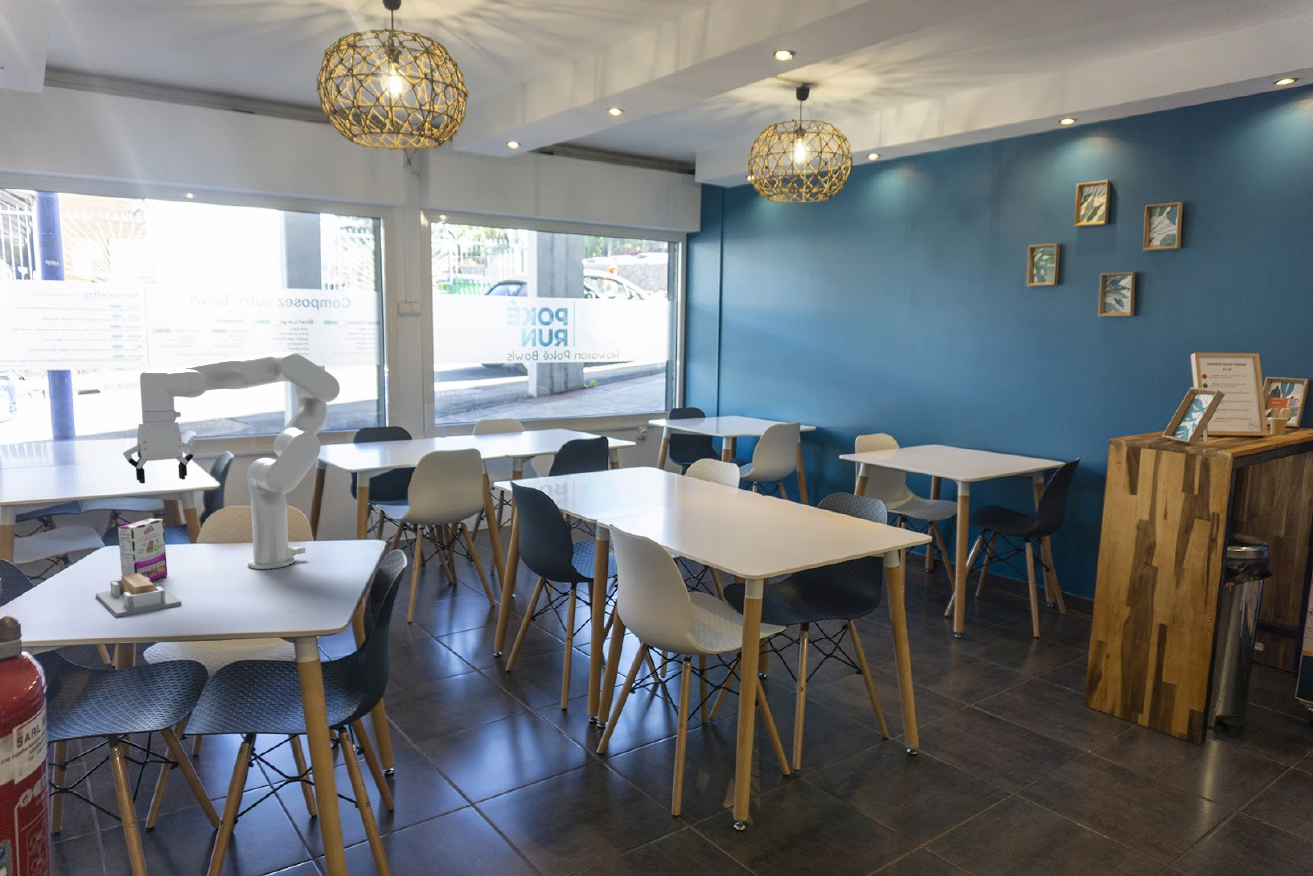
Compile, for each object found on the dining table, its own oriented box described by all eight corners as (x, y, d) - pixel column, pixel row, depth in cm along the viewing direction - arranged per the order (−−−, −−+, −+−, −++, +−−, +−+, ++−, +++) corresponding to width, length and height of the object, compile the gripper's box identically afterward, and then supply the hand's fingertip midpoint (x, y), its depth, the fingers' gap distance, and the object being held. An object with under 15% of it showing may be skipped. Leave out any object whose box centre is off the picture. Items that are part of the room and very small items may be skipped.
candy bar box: (152, 575, 241) (149, 517, 239) (168, 576, 240) (164, 518, 238) (120, 586, 230) (116, 526, 228) (136, 587, 229) (132, 527, 227)
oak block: (140, 589, 224) (139, 572, 223) (154, 601, 214) (153, 584, 213) (122, 592, 221) (121, 575, 221) (136, 605, 211) (135, 587, 210)
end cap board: (157, 586, 230) (156, 571, 230) (181, 605, 214) (180, 589, 214) (96, 597, 220) (95, 581, 220) (116, 617, 205) (115, 601, 204)
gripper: (190, 414, 236) (193, 475, 238) (117, 418, 224) (121, 482, 226) (198, 416, 231) (201, 479, 233) (124, 420, 219) (129, 486, 221)
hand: (162, 480), depth 230 cm, fingers open, 9 cm apart
